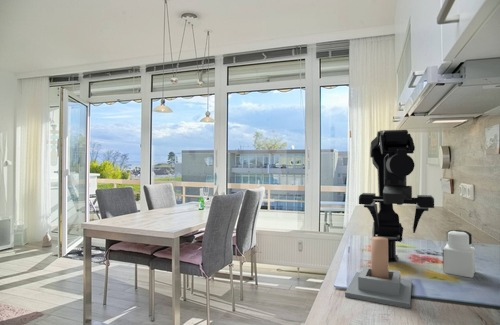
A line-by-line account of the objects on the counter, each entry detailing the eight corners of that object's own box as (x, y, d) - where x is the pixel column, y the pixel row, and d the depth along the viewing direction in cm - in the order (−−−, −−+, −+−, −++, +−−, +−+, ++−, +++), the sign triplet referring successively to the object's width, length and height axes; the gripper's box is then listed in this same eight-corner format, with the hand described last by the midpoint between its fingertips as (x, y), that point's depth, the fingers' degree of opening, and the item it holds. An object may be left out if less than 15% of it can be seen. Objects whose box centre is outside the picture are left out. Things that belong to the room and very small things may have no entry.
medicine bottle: (447, 266, 99) (446, 227, 98) (475, 271, 94) (475, 230, 94) (443, 273, 93) (442, 231, 93) (472, 278, 88) (472, 234, 88)
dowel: (377, 281, 84) (376, 235, 84) (391, 286, 81) (391, 238, 81) (368, 285, 82) (367, 238, 82) (382, 290, 78) (382, 241, 78)
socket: (356, 275, 92) (356, 261, 92) (411, 283, 85) (411, 268, 85) (345, 296, 77) (344, 279, 77) (409, 308, 71) (409, 290, 71)
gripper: (355, 175, 87) (355, 233, 87) (434, 176, 78) (435, 241, 78) (361, 174, 97) (362, 226, 97) (433, 174, 88) (433, 232, 88)
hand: (395, 231), depth 89 cm, fingers open, 9 cm apart
